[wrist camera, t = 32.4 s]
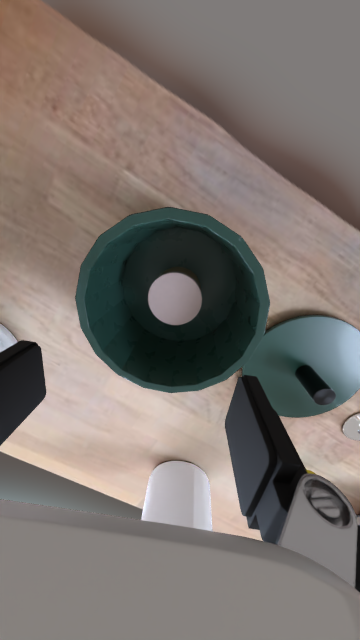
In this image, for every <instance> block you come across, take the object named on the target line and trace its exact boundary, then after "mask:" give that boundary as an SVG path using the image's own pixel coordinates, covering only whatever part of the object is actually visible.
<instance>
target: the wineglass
mask: <svg viewBox="0 0 360 640" xmlns="http://www.w3.org/2000/svg"><path fill="white" fill-rule="evenodd" d="M342 430H343V433H344V435H345V436H346V437H348V438H349V439H352V440H358V441H360V413H357V414H355V415H353V416H351V417H349V418H348V419H347V420H346V421H345V422H344V424H343V427H342Z"/></svg>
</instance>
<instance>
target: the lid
mask: <svg viewBox="0 0 360 640" xmlns="http://www.w3.org/2000/svg"><path fill="white" fill-rule="evenodd" d="M243 375H250V376H256V377H257V378H258V380H259V382H260V384H261V386H262V388H263V390H264V392H265V394H266V396H267V398H268V400H269V402H270V404H271V406H272V408H273V409H274V410H275V411H276V412H277V414H278V415H279V416H284V417H297V418H299V417H309V416H314V415H318V414H322V413H325V412H327V411H330V410H332V409H334V408H336V407H338V406H339V405H341V404H343V403H344V402H346V401H347V400H348V399H350V398H351V397H352V396H353V395H354V394H355V393H356V392H357V391H358V390H359V389H360V331H359V330H357V329H356V328H355V327H354V326H352V325H350V324H349V323H347V322H345V321H343V320H340V319H338V318H335V317H330V316H324V315H307V316H300V317H296V318H292V319H289V320H286V321H283V322H281V323H279V324H277V325H275V326H273V327H272V328H270V329H269V330H267V331H266V332H265V334H264V336H263V338H262V340H261V341H260V343H259V345H258V346H257V348H256V350H255V351H254V353H253V355H252V356H251V358H250V360H249V361H248V362H247V363H246V364H245V365H243V367H242V376H243Z"/></svg>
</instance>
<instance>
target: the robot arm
mask: <svg viewBox="0 0 360 640" xmlns="http://www.w3.org/2000/svg"><path fill="white" fill-rule="evenodd" d="M45 395H46V386H45V378H44V369H43V361H42V353H41V348H40V346H38V344H37V343H36V342H30V341H24V340H21V341H19V342H18V341H17V340H16V339H15V337H14V336H13V334H12V333H11V332H10V331H9V330H8V329H7V328H5V327H4V326H3V325H2V324H0V445H1V444H2V443H3V442H4V441H5V440H6V439H7V438H8V437H9V436H10V435H11V434H12V433H13V431H14V430H15V429H16V428H17V427H18V426H19V425H20V424H21V423H22V422H23V421H24V420H25V419H26V418H27V416H28V415H29V414H30V413H31V412H32V411H33V410H34V409H35V408H36V407H37V406H38V405H39V404H40V403H41V401H42V400H43V399H44V397H45ZM225 429H226V434H227V440H228V445H229V450H230V455H231V461H232V466H233V471H234V477H235V482H236V487H237V493H238V498H239V503H240V508H241V512H242V515H243V516H246V517H247V522H248V527H249V528H250V529H257V530H260V533H261V537H262V540H263V541H260V540H255V539H251V538H247V537H242V536H236V535H231V534H225V533H219V532H214V531H208V530H202V529H196V528H190V527H184V526H177V525H171V524H164V523H158V522H151V521H145V520H138V519H132V518H125V517H119V516H112V515H105V514H99V513H91V512H84V511H78V510H71V509H65V508H57V507H51V506H44V505H37V504H30V503H23V502H16V501H10V500H2V499H0V640H360V526H359V525H358V523H357V517H356V514H355V512H354V509H353V507H352V505H351V504H350V502H349V501H348V499H347V498H346V496H345V495H344V494H343V493H342V492H341V491H340V490H339V489H338V488H337V487H336V486H335V485H333V484H332V483H331V482H330V481H328V480H326V479H325V478H323V477H321V476H319V475H316V474H310V473H307V471H306V469H305V467H304V465H303V463H302V461H301V459H300V457H299V455H298V453H297V451H296V449H295V447H294V445H293V443H292V441H291V439H290V437H289V436H288V434H287V432H286V430H285V428H284V426H283V424H282V422H281V420H280V418H279V416H278V414H277V412H276V411H275V410H274V409H273V408H272V406H271V404H270V402H269V400H268V398H267V396H266V394H265V392H264V390H263V388H262V386H261V384H260V382H259V380H258V378H257V377H256V376H250V375H243V376H242V377H239V378H238V381H237V384H236V387H235V390H234V394H233V397H232V400H231V403H230V406H229V410H228V413H227V416H226V420H225Z"/></svg>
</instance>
